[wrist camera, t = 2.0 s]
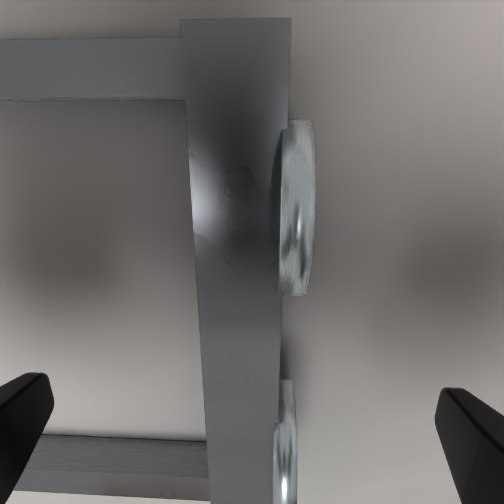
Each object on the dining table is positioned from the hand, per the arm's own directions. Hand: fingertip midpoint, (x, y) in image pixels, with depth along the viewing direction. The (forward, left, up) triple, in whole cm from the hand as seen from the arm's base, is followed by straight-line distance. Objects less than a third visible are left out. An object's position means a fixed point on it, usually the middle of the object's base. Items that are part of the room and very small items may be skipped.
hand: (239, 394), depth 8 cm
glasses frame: (+4, 0, -4) cm, 6 cm away
